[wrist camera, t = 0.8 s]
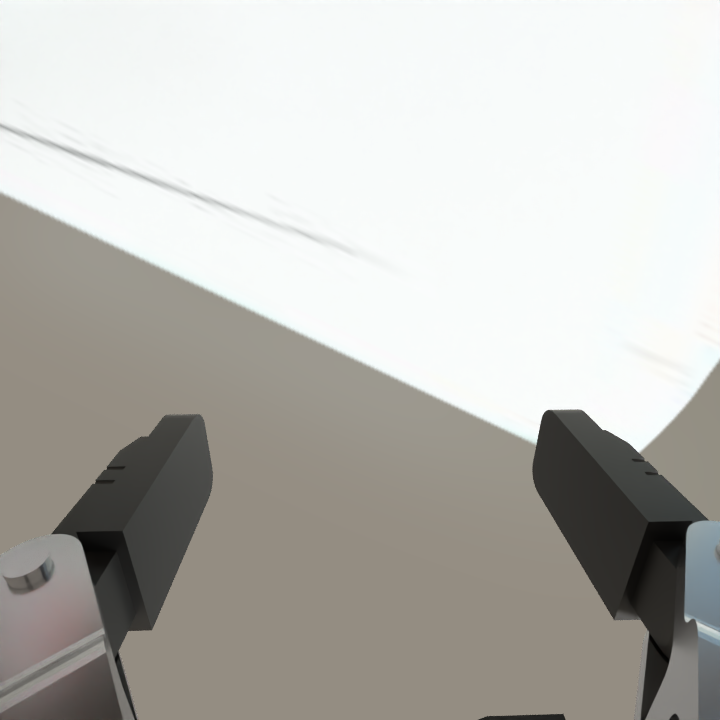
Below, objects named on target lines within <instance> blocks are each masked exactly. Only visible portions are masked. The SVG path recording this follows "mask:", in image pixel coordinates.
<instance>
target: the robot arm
mask: <svg viewBox="0 0 720 720" xmlns="http://www.w3.org/2000/svg"><path fill="white" fill-rule="evenodd" d="M533 480H534V484H535V487H536V489H537V491H538V493H539V495H540V497H541V498H542V500H543V502H544V503H545V505H546V507H547V508H548V510H549V512H550V513H551V515H552V517H553V518H554V520H555V522H556V524H557V525H558V527H559V529H560V530H561V532H562V534H563V535H564V537H565V538H566V540H567V542H568V543H569V545H570V547H571V549H572V550H573V552H574V554H575V555H576V557H577V559H578V560H579V562H580V564H581V565H582V567H583V568H584V570H585V572H586V574H587V575H588V577H589V579H590V580H591V582H592V584H593V585H594V587H595V589H596V590H597V592H598V594H599V595H600V597H601V599H602V600H603V602H604V604H605V605H606V607H607V609H608V611H609V612H610V614H611V616H612V617H613V619H614V620H636V619H637V620H641V621H642V622H643V623H644V625H645V626H646V628H647V632H646V634H645V637H644V640H643V644H642V653H641V662H640V671H639V680H638V688H637V697H636V706H635V714H634V720H720V522H719V521H709V520H708V519H707V518H706V517H705V516H704V515H703V514H702V513H701V512H700V511H699V510H698V509H697V508H696V507H695V506H694V505H692V504H691V503H690V502H689V501H688V500H687V499H686V498H685V497H684V496H683V495H682V494H681V493H680V492H679V491H678V490H677V489H676V488H675V487H674V486H673V485H672V484H671V483H669V482H668V481H667V480H666V479H665V478H664V477H663V476H662V475H658V471H657V470H656V469H655V468H654V467H653V466H652V465H651V464H650V463H649V462H645V461H644V458H643V457H642V456H641V455H640V454H639V453H638V452H637V451H636V450H635V449H634V448H633V447H632V446H631V445H630V444H629V443H627V442H626V441H624V440H622V439H620V438H619V437H617V436H615V435H613V434H612V433H610V432H608V431H606V430H602V429H601V428H600V427H599V426H598V425H597V424H596V423H595V422H594V421H593V420H592V419H591V418H590V417H589V416H588V415H587V414H586V413H585V412H584V411H582V410H547V411H546V412H545V413H544V414H543V416H542V420H541V425H540V430H539V435H538V440H537V445H536V451H535V456H534V461H533ZM212 481H213V471H212V464H211V458H210V452H209V447H208V441H207V435H206V429H205V423H204V420H203V418H202V416H201V415H199V414H192V415H191V414H188V415H165V416H164V417H163V418H162V420H161V421H160V422H159V423H158V425H157V426H156V427H155V429H154V430H153V431H152V433H151V434H150V435H149V437H140V438H138V439H137V440H135V441H134V442H132V443H131V444H129V445H128V446H126V447H125V448H124V449H122V450H120V451H119V453H118V454H117V455H116V456H115V457H114V459H113V460H112V461H111V462H110V464H109V465H108V466H107V470H104V471H103V472H102V473H101V475H100V476H99V477H98V478H97V479H96V483H95V484H92V485H91V487H90V488H89V489H88V490H87V492H86V493H85V494H84V495H83V496H82V498H81V499H80V500H79V501H78V502H77V504H76V505H75V506H74V507H73V508H72V510H71V511H70V512H69V513H68V514H67V516H66V517H65V518H64V519H63V520H62V522H61V523H60V524H59V525H58V527H57V528H56V529H55V530H54V531H53V533H52V534H51V535H46V536H41V537H37V538H34V539H31V540H29V541H26V542H24V543H21V544H19V545H17V546H15V547H13V548H12V549H9V550H8V551H6V552H5V553H3V554H2V555H0V720H139V719H138V716H137V712H136V709H135V705H134V701H133V698H132V694H131V690H130V687H129V684H128V680H127V676H126V673H125V669H124V665H123V662H122V658H121V655H120V652H119V649H120V646H121V644H122V642H123V640H124V638H125V636H126V634H127V632H128V631H139V630H140V631H141V630H152V629H153V626H154V624H155V622H156V620H157V617H158V615H159V613H160V610H161V608H162V606H163V603H164V601H165V599H166V596H167V594H168V592H169V589H170V587H171V585H172V582H173V580H174V578H175V575H176V573H177V571H178V568H179V566H180V564H181V562H182V559H183V557H184V555H185V552H186V550H187V547H188V545H189V543H190V541H191V538H192V536H193V534H194V531H195V529H196V527H197V524H198V522H199V520H200V517H201V515H202V513H203V510H204V508H205V506H206V503H207V501H208V499H209V496H210V493H211V489H212ZM479 720H565V717H564V715H563V714H550V715H517V716H489V717H488V716H487V717H484V718H482V719H479Z"/></svg>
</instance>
